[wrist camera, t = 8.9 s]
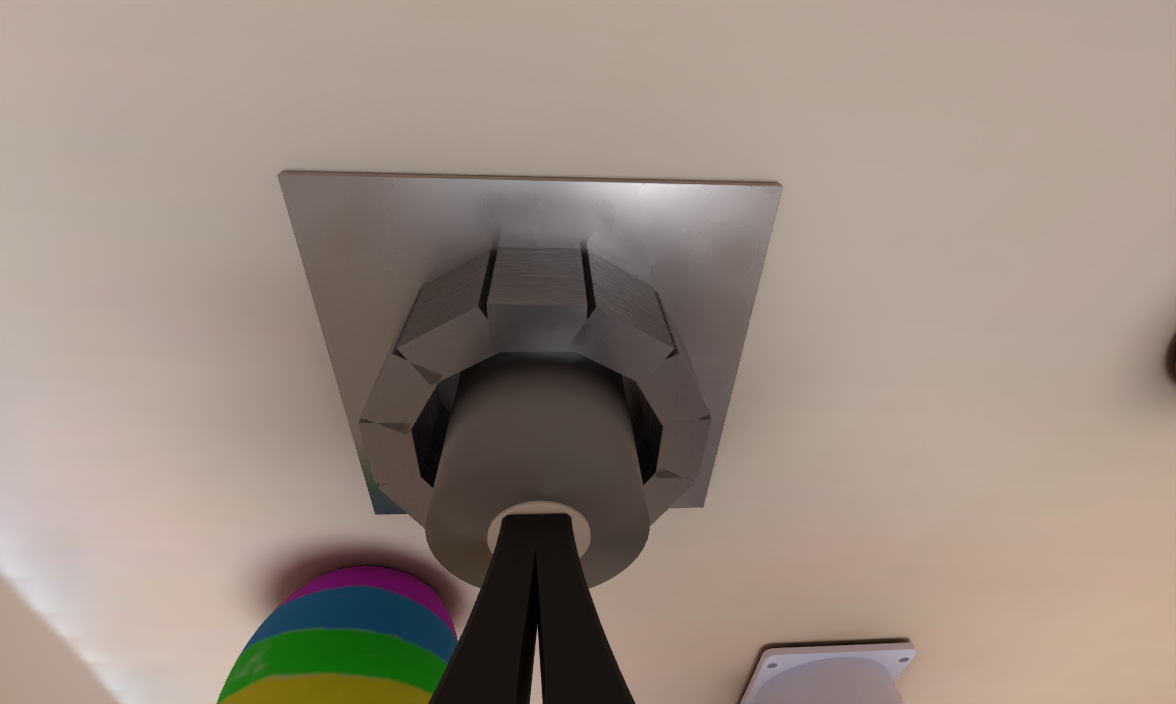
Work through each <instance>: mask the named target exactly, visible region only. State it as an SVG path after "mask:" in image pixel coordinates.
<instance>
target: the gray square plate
mask: <svg viewBox="0 0 1176 704" xmlns="http://www.w3.org/2000/svg"><path fill="white" fill-rule="evenodd" d="M278 179H279V182H280V185H281V189H282V192H283V196H284V199H285V203H286V206H287V210H288V213H289V217H290V220H291V224H292V227H293V231H294V234H295V238H296V241H297V244H298V248H299V251H300V255H301V258H302V262H303V265H304V269H305V272H306V276H307V279H308V283H309V286H310V290H311V293H312V297H313V300H314V303H315V307H316V310H317V314H318V317H319V321H320V324H321V328H322V331H323V335H324V338H325V342H326V345H327V349H328V352H329V355H330V359H331V362H332V366H333V369H334V373H335V376H336V380H337V383H338V387H339V390H340V394H341V397H342V401H343V404H344V408H345V411H346V414H347V418H348V421H349V425H350V428H351V432H352V435H353V439H354V442H355V446H356V449H357V453H358V456H359V460H360V463H361V467H362V470H363V473H364V477H365V480H366V484H367V487H368V491H369V494H370V498H371V501H372V505H373V508H374V512H375V514H409V515H410V516H411V517H412V518H413V519H414V520H416V521H417V522H418V523H419V524H420V525H421V526H423V527H424V528H425V525H426V518H427V513H428V509H429V505H430V501H431V496H432V492H433V488H434V484H435V479H436V475H437V471H438V467H439V462H440V458H441V454H442V449H443V445H444V441H445V437H446V432H447V428H448V424H449V420H450V415H451V411H452V407H453V403H454V398H455V394H456V390H457V385H458V381H459V377H460V373H461V371H463V370H465V369H467V368H469V367H471V366H473V365H475V364H477V363H479V362H481V361H483V360H485V359H487V358H489V357H491V356H493V355H495V354H497V353H499V352H577V353H579V354H581V355H583V356H585V357H587V358H589V359H591V360H593V361H595V362H597V363H599V364H601V365H603V366H605V367H607V368H610V369H612V370H614V371H616V372H618V373H620V374H622V378H623V383H624V389H625V394H626V399H627V404H628V409H629V415H630V420H631V425H632V430H633V435H634V441H635V446H636V451H637V456H638V462H639V467H640V472H641V477H642V482H643V488H644V493H645V498H646V503H647V508H648V514H649V519H650V526H651V525H652V524H653V523H654V522H655V521H656V520H657V519H658V518H659V517H660V516H661V515H662V514H663V513H664V512H665V511H666V510H667V509H668V508H692V507H703V506H704V502H705V498H706V494H707V490H708V486H709V482H710V478H711V474H712V470H713V466H714V462H715V458H716V454H717V450H718V446H719V442H720V438H721V434H722V430H723V426H724V422H725V418H726V414H727V410H728V406H729V402H730V397H731V393H732V389H733V385H734V381H735V377H736V373H737V369H738V365H739V361H740V357H741V353H742V349H743V345H744V341H745V337H746V333H747V329H748V325H749V321H750V317H751V313H752V309H753V305H754V301H755V297H756V293H757V289H758V285H759V281H760V277H761V273H762V269H763V265H764V261H765V257H766V253H767V249H768V245H769V240H770V236H771V232H772V228H773V224H774V220H775V216H776V212H777V208H778V204H779V200H780V196H781V192H782V188H783V186H782V185H781V184H779V183H763V182H721V181H679V180H637V179H595V178H552V177H510V176H468V175H426V174H384V173H342V172H300V171H282V172H281V173H279V174H278Z"/></svg>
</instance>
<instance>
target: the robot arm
mask: <svg viewBox="0 0 1176 704" xmlns="http://www.w3.org/2000/svg"><path fill="white" fill-rule="evenodd" d="M537 623H538V638H539V653H540V669H541V683H542V698H543V704H635V702H634V700H633V698H632V696H631V693H630V691H629V689H628V687H627V685H626V683H625V680H624V678H623V676H622V674H621V671H620V669H619V667H618V664H617V662H616V660H615V657H614V655H613V652H612V650H611V648H610V645H609V643H608V641H607V638H606V635H605V633H604V630H603V628H602V625H601V623H600V620H599V617H598V614H597V612H596V609H595V606H594V603H593V600H592V598H591V595H590V592H589V589H588V586H587V583H586V580H585V576H584V573H583V569H582V566H581V562H580V559H579V555H578V551H577V547H576V542H575V538H574V532H573V526H572V518H571V516H570V515H568V514H567V513H552V514H508V515H506V516H505V517H503V518H502V522H501V527H500V531H499V535H498V539H497V543H496V546H495V550H494V553H493V556H492V559H491V562H490V565H489V568H488V570H487V573H486V576H485V579H484V582H483V584H482V587H481V589H480V592H479V594H478V597H477V599H476V602H475V604H474V607H473V609H472V612H471V614H470V617H469V619H468V621H467V624H466V626H465V628H464V630H463V633H462V635H461V637H460V639H459V641H458V643H457V646H456V648H455V650H454V652H453V654H452V656H451V658H450V661H449V663H448V665H447V667H446V669H445V671H444V673H443V675H442V677H441V679H440V681H439V683H438V685H437V687H436V689H435V691H434V693H433V695H432V697H431V699H430V701H429V703H428V704H530V694H531V684H532V674H533V664H534V654H535V644H536V633H537ZM916 653H917V651H916V649H915V647H914V645H913V644H911V643H885V644H861V645H837V646H814V647H790V648H772V649H768V650H766V651H765V652H764V653H763V654H762V657H761V659H760V661H759V663H758V665H757V668H756V670H755V672H754V674H753V676H752V679H751V681H750V683H749V685H748V687H747V690H746V692H745V694H744V696H743V698H742V701H741V703H740V704H904V702H903V700H902V698H901V696H900V694H899V692H898V690H897V688H896V686H895V684H894V682H895V681H896V680H897V678H898V677H899V676H900V675H901V673H902V672H903V671H904V669H905V668H906V667H907V666H908V664H909V663H910V662H911V660H912V659H913V658H914V657H915V655H916Z"/></svg>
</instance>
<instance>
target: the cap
mask: <svg viewBox="0 0 1176 704" xmlns="http://www.w3.org/2000/svg"><path fill="white" fill-rule="evenodd" d="M552 513H567V514H568V515H570V516H571V518H572V526H573V532H574V538H575V542H576V547H577V551H578V555H579V559H580V562H581V566H582V569H583V573H584V576H585V580H586V583H587V586H588V588H591V587H594V586H596V585H599V584H601V583H603V582H605V581H607V580H609V579H611V578H613V577H615V576H616V575H617V574H619V573H620V572H622V571H623V570H625V569H626V568H627V567H628V566H629V565H630V564H631V563H632V562H633V561H634V560H635V559H636V558H637V557H638V556H639V554H640V552H641V551H642V549H643V548H644V546H645V543H646V541H647V539H648V535H649V530H650V519H649V514H648V508H647V503H646V498H645V493H644V488H643V482H642V477H641V472H640V467H639V462H638V456H637V451H636V446H635V441H634V435H633V430H632V425H631V420H630V415H629V409H628V404H627V399H626V394H625V389H624V383H623V378H622V374H620V373H618V372H616V371H614V370H612V369H610V368H607V367H605V366H603V365H601V364H599V363H597V362H595V361H593V360H591V359H589V358H587V357H585V356H583V355H581V354H579V353H577V352H499V353H497V354H495V355H493V356H491V357H489V358H487V359H485V360H483V361H481V362H479V363H477V364H475V365H473V366H471V367H469V368H467V369H465V370H463V371H461V373H460V377H459V381H458V385H457V390H456V394H455V398H454V403H453V407H452V411H451V415H450V420H449V424H448V428H447V432H446V437H445V441H444V445H443V449H442V454H441V458H440V462H439V467H438V471H437V475H436V479H435V484H434V488H433V492H432V496H431V501H430V505H429V509H428V513H427V518H426V525H425V532H426V539H427V542H428V545H429V547H430V550H431V551H432V553H433V555H434V556H435V558H436V559H437V560H438V561H439V562H440V564H441V565H442V566H443V567H445V568H446V569H447V570H448V571H449V572H450V573H452V574H453V575H455V576H456V577H458V578H459V579H461V580H463V581H465V582H467V583H469V584H471V585H473V586H476V587H478V588H481V587H482V584H483V582H484V579H485V576H486V573H487V570H488V568H489V565H490V562H491V559H492V556H493V553H494V550H495V546H496V543H497V539H498V535H499V531H500V527H501V522H502V518H503V517H505V516H506V515H508V514H552Z"/></svg>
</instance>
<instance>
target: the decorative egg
mask: <svg viewBox="0 0 1176 704" xmlns="http://www.w3.org/2000/svg"><path fill="white" fill-rule="evenodd" d="M457 643H458V640H457V636H456V632H455V629H454V626H453V623H452V620H451V618H450V616H449V613H448V611H447V610H446V608H445V606H444V604H443V602H442V601H441V599H440V598H439V596H438V595H437V594H436V593H435V591H434V590H433V589H432V588H431V587H430V586H429V585H427V584H426V583H424V582H423V581H421V580H420V579H418V578H416V577H414V576H412V575H410V574H408V573H405V572H401V571H398V570H394V569H389V568H385V567H377V566H355V567H347V568H342V569H338V570H334V571H331V572H329V573H326V574H324V575H322V576H319V577H317V578H316V579H314V580H312V581H311V582H309V583H308V584H306V585H305V586H303V587H302V588H300V589H299V590H297V591H296V592H295V593H293V594H292V595H291V596H290V597H288V598H287V599H286V600H285V601H284V602H283V603H281V604H280V605H279V606H278V607H277V608H276V609H275V610H274V612H273V613H272V614H271V615H270V616H269V617H268V618H267V619H266V620H265V621H264V622H263V623H262V624H261V626H260V627H259V628H258V629H257V631H256V632H255V633H254V635H253V636H252V638H251V639H250V640H249V642H248V643H247V644H246V646H245V648H244V649H243V651H242V653H241V654H240V656H239V657H238V659H237V661H236V663H235V665H234V666H233V668H232V670H231V672H230V674H229V676H228V678H227V680H226V682H225V685H224V687H223V689H222V691H221V693H220V696H219V699H218V701H217V704H428V703H429V701H430V699H431V697H432V695H433V693H434V691H435V689H436V687H437V685H438V683H439V681H440V679H441V677H442V675H443V673H444V671H445V669H446V667H447V665H448V663H449V661H450V658H451V656H452V654H453V652H454V650H455V648H456V646H457Z"/></svg>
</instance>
